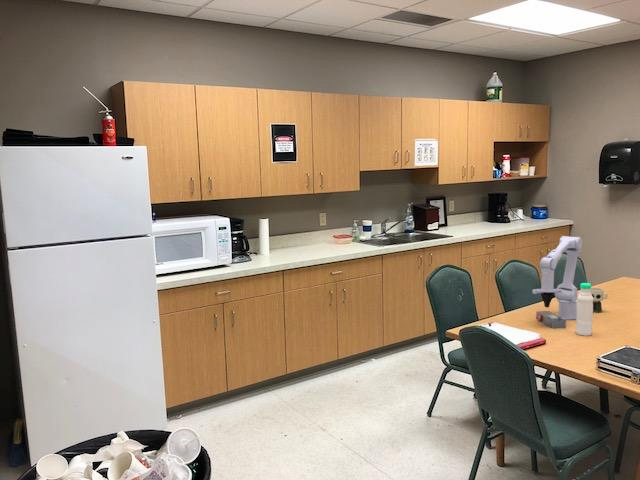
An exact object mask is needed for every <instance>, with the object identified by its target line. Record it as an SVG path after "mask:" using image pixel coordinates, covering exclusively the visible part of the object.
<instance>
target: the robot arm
mask: <svg viewBox="0 0 640 480" xmlns="http://www.w3.org/2000/svg"><path fill="white" fill-rule="evenodd" d="M558 243H559V244H558V245H557V247H556V248H555V249H552V250H551V251H550V252H549V253H548V254H547V255H546V256H544V257H542V258H541V259H540V261H539V267H540V272H541V286H540V287H541V288H534V289H532V291H531V293H532V294H534V295H536V294H540V297H541V298H542V300H543V305H544V307H545V308H550V306H551V303H552V302H551V301H553V299H554V297H555V299H556V300H557V302H558V312H557V313H558V314H556V315H557V316H560V317H561V318H562V319H564V320H577V301H578V300H577V297H578V295H579V293H578V288H577V287H576V286H575V285H574V280H575V273H576V267H577V262H578V256H579V254H581V253H582V248H583V239H582V238H581V237H580V236H567V235H562V236H561V237H560V238H559V242H558ZM564 252H565V253H566V254H567V256H566V262H565V267H564V273H563V279H562V283H560V284H558V285H557V286H556V288H555V269H556V268H557V265H558V262H559V260H561V258H563V253H564Z"/></svg>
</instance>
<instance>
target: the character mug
mask: <svg viewBox="0 0 640 480" xmlns="http://www.w3.org/2000/svg"><path fill="white" fill-rule="evenodd" d="M590 292H591V294H592V296H593V313H594V312H595V313H601V312H602V311H603V308H602V307H603V306H602V301H603V300H606V299H608V293H607V292H604V288H600V287H591V290H590Z"/></svg>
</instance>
